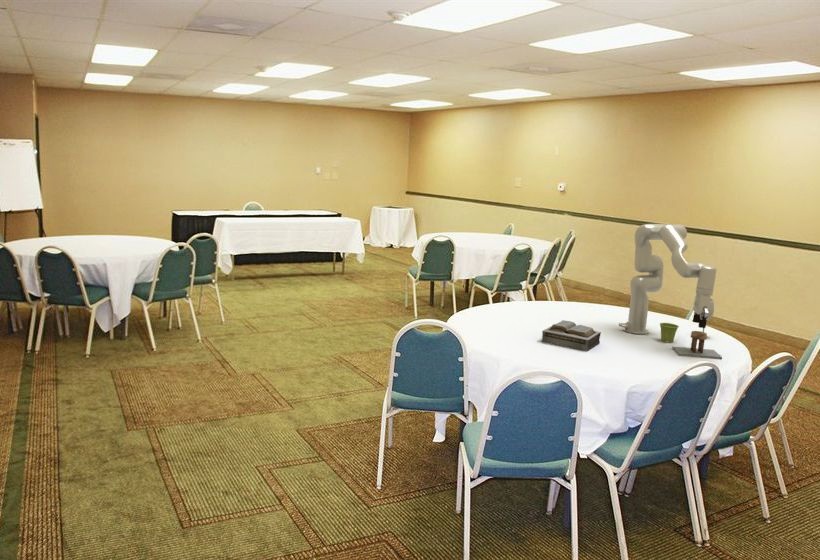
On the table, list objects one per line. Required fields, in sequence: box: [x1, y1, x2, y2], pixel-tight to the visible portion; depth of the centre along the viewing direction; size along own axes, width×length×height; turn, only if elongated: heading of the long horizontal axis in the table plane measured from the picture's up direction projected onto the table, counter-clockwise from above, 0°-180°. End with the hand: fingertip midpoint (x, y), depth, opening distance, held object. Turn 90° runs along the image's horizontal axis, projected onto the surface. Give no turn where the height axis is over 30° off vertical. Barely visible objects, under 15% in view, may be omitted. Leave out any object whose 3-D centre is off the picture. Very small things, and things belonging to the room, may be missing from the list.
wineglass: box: [699, 298, 715, 340], centre depth 355 cm, size 8×8×21 cm
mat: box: [671, 345, 723, 360], centre depth 324 cm, size 20×13×1 cm, turn 82°
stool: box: [690, 330, 708, 353], centre depth 323 cm, size 7×7×10 cm
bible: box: [541, 320, 602, 352], centre depth 332 cm, size 23×27×10 cm
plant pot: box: [659, 322, 680, 343], centre depth 345 cm, size 9×9×9 cm
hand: (699, 324), depth 322 cm, fingers open, 9 cm apart
